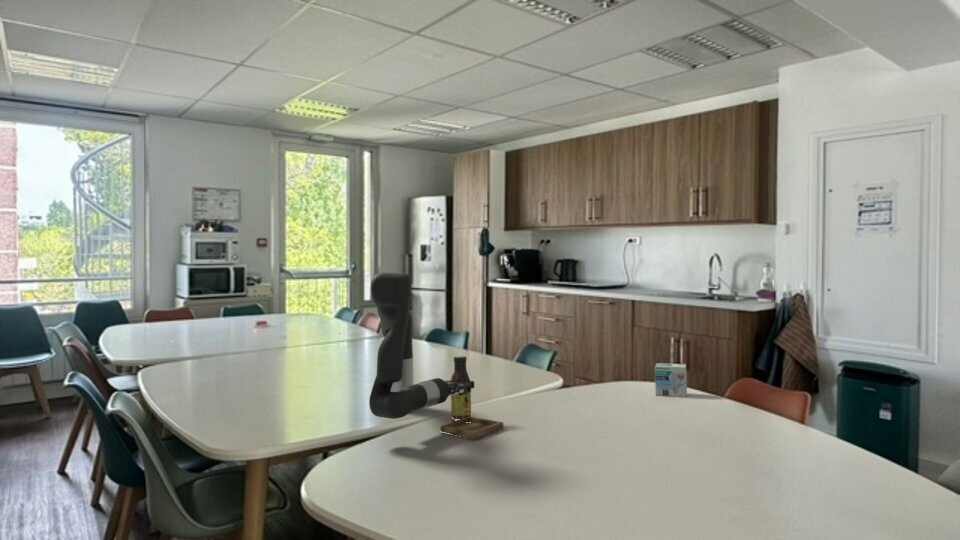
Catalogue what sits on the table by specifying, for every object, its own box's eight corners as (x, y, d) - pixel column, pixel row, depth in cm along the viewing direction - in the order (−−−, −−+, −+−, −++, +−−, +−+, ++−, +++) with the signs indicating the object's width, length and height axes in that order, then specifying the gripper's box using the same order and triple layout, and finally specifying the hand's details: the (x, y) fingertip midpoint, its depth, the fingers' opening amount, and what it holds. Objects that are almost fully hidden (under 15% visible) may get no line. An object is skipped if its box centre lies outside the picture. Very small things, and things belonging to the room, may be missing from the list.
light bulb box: (655, 395, 199) (654, 365, 199) (656, 392, 205) (655, 362, 206) (686, 397, 195) (685, 366, 195) (687, 393, 201) (686, 363, 202)
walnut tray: (440, 433, 160) (440, 426, 160) (468, 423, 170) (468, 416, 170) (475, 440, 152) (475, 433, 152) (503, 429, 162) (502, 422, 163)
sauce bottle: (468, 422, 171) (467, 358, 171) (449, 422, 172) (447, 358, 172) (473, 417, 177) (471, 355, 178) (454, 416, 179) (452, 355, 179)
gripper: (447, 382, 159) (482, 373, 172) (411, 378, 168) (447, 369, 181) (448, 408, 159) (483, 397, 172) (412, 403, 168) (448, 392, 181)
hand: (465, 383), depth 177 cm, fingers closed on sauce bottle, 6 cm apart
